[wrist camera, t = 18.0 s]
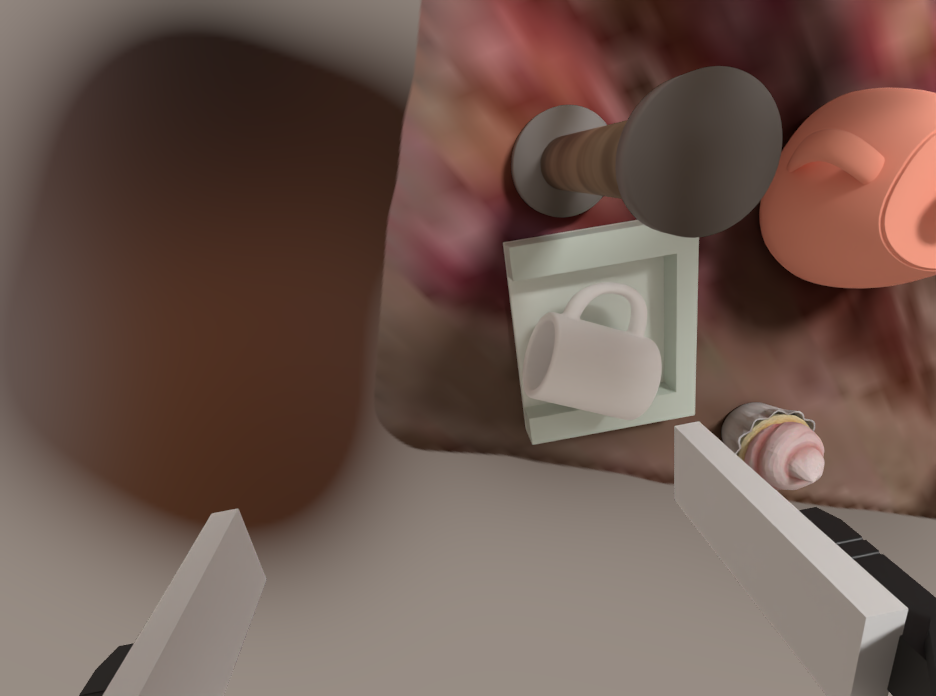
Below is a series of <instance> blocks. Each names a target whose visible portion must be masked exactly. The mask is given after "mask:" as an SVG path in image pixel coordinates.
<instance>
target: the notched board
mask: <svg viewBox="0 0 936 696" xmlns="http://www.w3.org/2000/svg"><path fill="white" fill-rule="evenodd" d="M503 249H504V257H505V265H506V273H507V281H508V290H509V298H510V306H511V314H512V322H513V330H514V339H515V347H516V355H517V363H518V371H519V379H520V388H521V396H522V404H523V412H524V420H525V428H526V431H527V433H528V436H529V438H530V441H531V443H532V445H535V444H540V443H546V442H551V441H557V440H562V439H568V438H573V437H578V436H584V435H589V434H595V433H600V432H605V431H611V430H616V429H622V428H627V427H633V426H638V425H643V424H649V423H654V422H660V421H665V420H670V419H676V418H681V417H687V416H692V415H695V387H696V344H697V301H698V258H699V237H697V238H687V237H680V236H675V235H671V234H667V233H663V232H660V231H657V230H654V229H651V228H650V227H648V226H646V225H644V224H643V223H641V222H640V221H639V220H633V221H627V222H621V223H615V224H609V225H603V226H597V227H591V228H585V229H579V230H573V231H567V232H562V233H556V234H550V235H544V236H538V237H532V238H526V239H520V240H514V241H508V242H503ZM602 282H614V283H620V284H624V285H627V286H630V287H632V288H634V289H635V290H636V291H638V292H639V293H640V295H641V296H642V297H643V299H644V301H645V304H646V307H647V324H646V329H645V333H644V337H647V338H649V339H651V340H653V341H654V342H655V344H656V345H657V347H658V349H659V351H660V355H661V361H662V373H661V380H660V384H659V388H658V391H657V393H656V396H655V398H654V400H653V402H652V404H651V405H650V407H649V408H648V409H647V410H646V412H645V413H643V414H642V415H641V416H640V417H638V418H636V419H634V420H623V419H619V418H615V417H610V416H606V415H602V414H597V413H593V412H589V411H584V410H580V409H576V408H572V407H567V406H563V405H559V404H554V403H550V402H546V401H542V400H537V399H533V398H530V397H528V396H527V395H526V393H525V391H524V387H523V378H522V377H523V364H524V358H525V353H526V349H527V346H528V343H529V340H530V337H531V335H532V332H533V330H534V328H535V326H536V325H537V323H538V321H539V320H540V319H541V318H542V317H543V316H544V315H545V314H546V313H548V312H555V313H559V314H562V313H563V312H564V310H565V308H566V306H567V304H568V303H569V301H570V300H571V298H572V297H573V296H574V295H575V294H576V293H577V292H579V291H580V290H581V289H583V288H585V287H587V286H589V285H592V284H596V283H602ZM630 318H631V305H630V302H629V301H628V300H627V299H626V298H625V297H623V296H621V295H617V294H602V295H599V296H597V297H595V298H594V299H593V300H592V301H590V302H589V304H588V305H587V306H586V307H585V309H584V310H583V312H582V314H581V316H580V319H581V320H585V321H588V322H592V323H596V324H599V325H603V326H607V327H610V328H614V329H618V330H621V331H627V330H628V327H629V323H630Z"/></svg>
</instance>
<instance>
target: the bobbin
mask: <svg viewBox="0 0 936 696" xmlns="http://www.w3.org/2000/svg"><path fill="white" fill-rule="evenodd" d="M781 150H782V124H781V119H780V114H779V111H778V108H777V106H776V103H775V101H774V99H773V97H772V96H771V94H770V92H769V91H768V90H767V89H766V87H765V86H764V85H763V84H762V83H761V82H760V81H759V80H758V79H756V78H755V77H753V76H752V75H750V74H749V73H747V72H745V71H742V70H740V69H736V68H732V67H726V66H712V67H705V68H701V69H697V70H694V71H691V72H689V73H686V74H683V75H680V76H678V77H675V78H672V79H670V80H668V81H666V82H664V83H662V84H661V85H659V86H658V87H656V88H655V89H654V90H652V91H651V92H650V93H649V94H648V95H647V96H645V97H644V98H643V99H642V101H641V102H640V103H639V104H638V105H637V106H636V108H635V109H634V111H633V112H632V114H631V115H630V117H629V118H628V120H627V121H623V122H619V123H614V124H610V125H607V124H606V123H605V122H604V121H603V120H602V119H601V117H599V116H598V115H597V114H596V113H594V112H593V111H591V110H589V109H587V108H584V107H581V106H577V105H561V106H557V107H553V108H551V109H548V110H546V111H544V112H542V113H540V114H538V115H537V116H535V117H534V118H533V119H531V120H530V121H529V122H528V123H527V124H526V126H525V127H524V128H523V129H522V131H521V132H520V134H519V136H518V137H517V140H516V142H515V144H514V147H513V151H512V156H511V174H512V179H513V183H514V186H515V188H516V190H517V192H518V194H519V195H520V197H521V198H522V199H523V200H524V202H525V203H526V204H528V205H529V206H530V207H531V208H533V209H534V210H536V211H538V212H540V213H543V214H546V215H549V216H553V217H571V216H575V215H578V214H581V213H583V212H585V211H587V210H588V209H590V208H591V207H593V206H594V205H595V204H596V203H597V202H598V201H599V200H600V199H601V198H602V197H603V196H607V197H614V198H621V199H623V201H624V203H625V205H626V207H627V208H628V209H629V211H630V212H631V213H632V215H633V216H634V217H635V218H636V219H637V220H639V221H640V222H641V223H643V224H644V225H646V226H648V227H650V228H651V229H654V230H657V231H660V232H663V233H667V234H671V235H675V236H680V237H687V238H697V237H705V236H709V235H713V234H716V233H719V232H721V231H724V230H726V229H727V228H729V227H731V226H733V225H734V224H736V223H737V222H739V221H740V220H742V219H743V218H744V217H745V216H746V215H747V214H749V213H750V212H751V211H752V210H753V208H754V207H755V206H756V205H757V204H758V203H759V201H760V200H761V199H762V198H763V196H764V195H765V193H766V191H767V190H768V188H769V186H770V184H771V182H772V180H773V178H774V176H775V173H776V170H777V168H778V164H779V160H780V156H781Z"/></svg>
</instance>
